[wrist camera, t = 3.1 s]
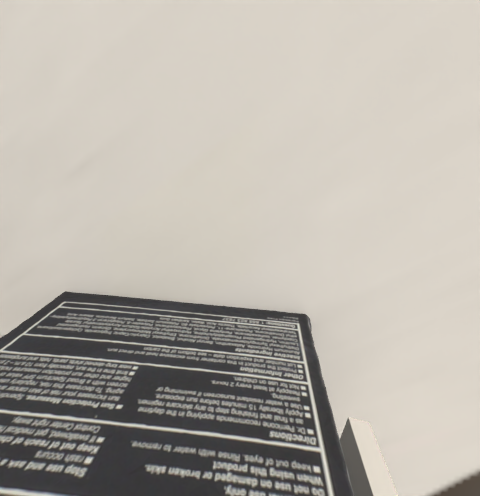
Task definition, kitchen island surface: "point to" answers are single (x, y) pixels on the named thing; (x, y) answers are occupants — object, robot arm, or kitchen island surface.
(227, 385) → the small box
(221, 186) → the kitchen island surface
